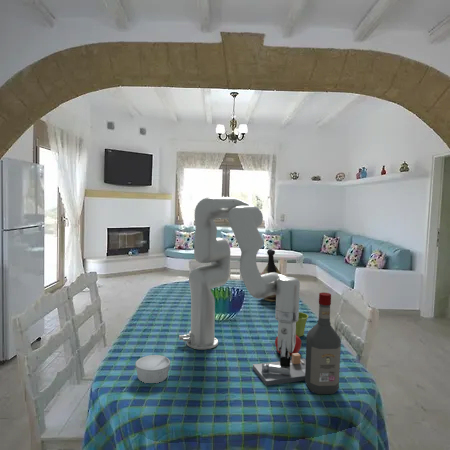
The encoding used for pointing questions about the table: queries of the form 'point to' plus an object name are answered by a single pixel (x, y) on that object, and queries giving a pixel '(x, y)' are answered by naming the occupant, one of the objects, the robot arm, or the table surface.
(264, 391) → the table surface
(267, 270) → the ceramic jug
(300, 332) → the plant pot
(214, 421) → the table surface
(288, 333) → the robot arm
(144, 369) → the ramekin
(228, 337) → the table surface
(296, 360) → the fader knob
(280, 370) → the silver metal bar
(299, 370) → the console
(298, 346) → the pomegranate
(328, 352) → the liquor
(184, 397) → the table surface
